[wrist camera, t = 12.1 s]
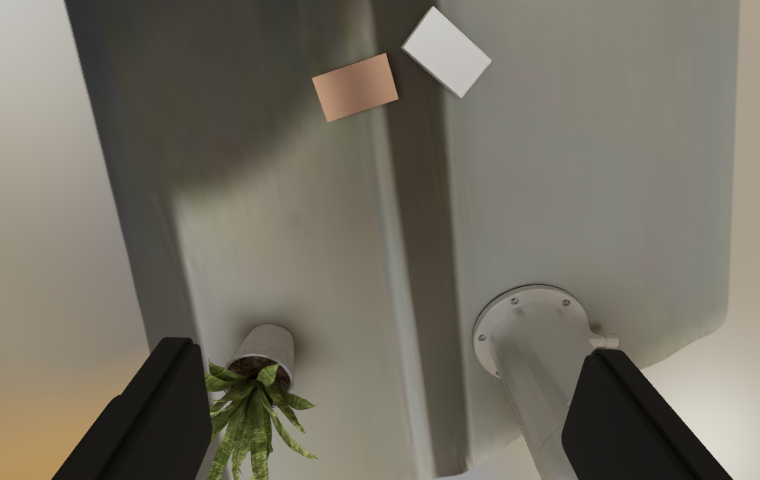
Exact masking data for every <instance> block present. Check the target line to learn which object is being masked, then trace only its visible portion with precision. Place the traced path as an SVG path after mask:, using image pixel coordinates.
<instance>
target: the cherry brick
mask: <svg viewBox="0 0 760 480" xmlns="http://www.w3.org/2000/svg"><path fill="white" fill-rule="evenodd" d="M312 80H313V83H314V85H315V88H316V91H317V94H318V97H319V100H320V102H321V105H322V108H323V111H324V114H325V117H326V119H327V122H330V121H333V120H336V119H339V118H342V117H345V116H348V115H351V114H355V113H358V112H361V111H364V110H367V109H370V108H373V107H376V106H379V105H382V104H385V103H388V102H391V101H394V100H397V99H398V95H397V92H396V88H395V84H394V81H393V77H392V74H391V70H390V67H389V63H388V59H387V56H386V53H383V54H380V55H377V56H375V57H372V58H369V59H366V60H363V61H360V62H357V63H354V64H351V65H348V66H345V67H342V68H339V69H336V70H333V71H330V72H328V73H325V74H322V75H319V76H316V77H314V78H312Z"/></svg>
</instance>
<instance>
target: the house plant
mask: <svg viewBox="0 0 760 480" xmlns="http://www.w3.org/2000/svg"><path fill="white" fill-rule="evenodd" d="M208 362H209V371H210V374H211V375H210V374H207V373H205V372H204V375H205V382H206V389H207V392H217V391H222V390H224V392H225V393H226V395H225V396H224V397H222V398H221V399H220V400H212V401H218V402H217V403H216V404H214V405H212V406H209V408H210V415H211V417H212V416H213V415H215V414H217V413H219V414H218V415H216V416H215V417H213V418H212V419H211V421H212V437H211V441H212V440H213V439H214V437H215V436H216V435H217V434H218V433H219V432H220V431H221V430H222V429H223V428H224V427H225V426H226V424H227V423H228V422H229V421H230V422H229V424H228V427H227V430H226V433H225V436H224V438H223V440H222V442H221V444H220V446H219V449H218V451H217V453H216V455H215V458H214V460H213V463H212V465H211V468H210V471H209V475H208V478H207V480H220V479H221V476H222V473H223V470H224V468H225V466H226V463H227V461H228V459H229V457H230V454H231V452H232V473H233V477H234V480H240V478H239V471H240V468H239V466H240V465H241V463H242V462H243V460H244V458H245V456H246V454H247V452H248V451H250V450H251V463H252V471H253V473H254V474H253V476H252V479H251V480H256V479H257V480H269V479H268V467H267V459H268V456H269V453H271V452H272V451H273V449H272V446H271V439H272V428H271V420H270V417H271V418H272V421H273V423H274V425H275V427H276V429H277V431H278V433H279V435H280V436H281V437H282V439H283V440H284V442H285V443H286V444H287V445H288V446H289V447H290V448H291V449H293V450H294V451H296V452H298V453H300V454H301V455H303V456H305V457H307V458H316V459H318V458H317V457H315V456H313V455H312V454H310V453H308V452H307V451H306V450H304V449H303V448H302V447H301V446H299V445H298V444H297V443H296V442H295V441H294V440H293V439H292V437H291V436H290V435H289V434H288V433H287V431H286V430H285V429H284V428H283V426H282V424H281V423H280V421H279V419H278V417H277V413H276V412H274V411H273V409H272V408H274V407H277V406H278V408H279V409H280V410H281V411H282V412H283V413H284V414H285V415H286V417H287V418H288V419H289V420H290V421H291V422H292V424H293V425H294V426H295V427H296V428H297V429H299V430H300V431H302V432H303V433H305V432H304V429H303V428H302V426H301V425H300V424H299V423H298V421H297V418H296V416H295V414H294V412H293V411H292V409H291V408H290V407H289V406H291V407H292V408H294V409H296V410H305V409H308V408H311V407H314V406H316V405H312V404H311V403H309V402H308V401H307V400H305V399H303V398H301V397H298V396H296V395H293V394H291V393H292V390H293V382H294V340H293V337H292V336H291V334H290V333H289V332H288V331H287V330H286V329H285V328H282V327H280V326H277V325H273V324H263V325H260V326H257V327H255V328H254V329H253V330H252V331H251V332H250V333H249V335H248V336H247V337H246V339H245V340H244V341H243V343H242V344H241V345H240V347H239V348H238V349H237V351H236V352H235V353H234V355H233V356H232V357H231V359H230V360H229V361H228V363H227V364H226V366H225V367H224V368H222V367H219V366H216V365H214V364H212V363H210V361H209V360H208ZM231 400H233V401H232V402H231V404H230V405H229V406H227V407H226V408H225V409H223V410H220V409H221V408H222V407H223V406H224V405H225V404H226V403H227V402H228V401H231ZM286 403H287V404H288V405H289V406H288V405H287V404H286ZM219 410H220V411H219ZM211 441H210V442H211ZM232 449H233V451H232ZM240 472H241V471H240ZM241 474H242V473H241ZM242 476H243V475H242Z"/></svg>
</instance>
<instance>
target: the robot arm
mask: <svg viewBox="0 0 760 480" xmlns="http://www.w3.org/2000/svg"><path fill="white" fill-rule="evenodd" d="M618 345H619V341H618V338H617V336H616V335H596V334H595V333H593V332H592V331H591V330H590V329H589V321H588V318H587V315H586V312H585V311H584V309H583V308H582V306H581V305H580V304H579V302H578V301H577V300H576V299H575V298H574V297H573V296H571V295H570V294H568V293H567V292H566V291H563V290H561V289H558V288H556V287H551V286H546V285H531V286H524V287H520V288H517V289H514V290H511V291H509V292H507V293H505V294H503V295H501V296H499V297H498V298H497V299H495V300H494V301H492V302H491V303H490V304H489V305H488V306H487V307H486V308H485V309H484V310H483V312H482V313H481V315H480V316H479V318H478V320H477V322H476V324H475V326H474V331H473V347H474V351H475V354H476V356H477V359H478V361H479V362H480V364H481V365H482V367H483V368H484V369H485V370H486V371H487V372H488V373H490V374H491V375H493V376H494V377H496V378H499V379H501V381H502V384H503V386H504V389H505V391H506V394H507V396H508V399H509V401H510V404H511V406H512V409H513V411H514V414H515V416H516V418H517V421H518V423H519V426H520V428H521V431H522V433H523V436H524V438H525V441H526V443H527V446H528V448H529V451H530V453H531V455H532V458H533V460H534V463H535V465H536V468H537V470H538V473H539V475H540V477H541V480H733V479H732V478H731V477H730V476H729V474H728V473H727V472H726V471H725V470H724V468H723V467H722V466H721V465H720V464H719V463H718V461H717V460H716V459H715V458H714V457H713V456H712V454H711V453H710V452H709V451H708V450H707V449H706V447H705V446H704V445H703V444H702V443H701V442H700V440H699V439H698V438H697V437H696V436H695V435H694V433H693V432H692V431H691V430H690V429H689V428H688V426H687V425H686V424H685V423H684V422H683V421H682V420H681V418H680V417H679V416H678V415H677V414H676V412H675V411H674V410H673V409H672V408H671V407H670V405H668V403H667V402H666V401H665V400H664V398H663V397H662V396H661V395H660V394H659V393H658V391H657V390H656V389H655V388H654V387H653V386H652V384H651V383H650V382H649V381H648V380H647V379H646V378H645V376H643V374H642V373H641V372H640V370H639V369H638V368H637V367H636V366H635V365H634V363H633V362H632V361H631V360H630V359H629V358H628V356H627V355H626V354H625V353H624V352H623V351H621V350H614V349H596V348H597V347H603V348H617V347H618ZM211 437H212V421H211V415H210V408H209V402H208V395H207V389H206V382H205V375H204V369H203V362H202V356H201V349H200V346H199V345H198V344H193V341H192V339H191V338H180V337H165V338H163V339H162V340H161V341H160V342H159V344H158V345H157V346H156V348H155V349H154V350H153V352H152V353H151V355H150V356H149V357H148V359H147V360H146V361H145V363H144V364H143V365H142V367H141V368H140V370H139V371H138V373H137V374H136V375H135V376H134V378H133V379H132V380H131V382H130V383H129V385H128V386H127V387H126V389H125V390H124V391H123V393H122V394H121V395H118V396H116V397H115V398H113V399H112V400H111V401H110V403H109V404H108V405H107V406H106V408H105V409H104V410H103V412H102V413H101V414H100V416H99V417H98V418H97V420H96V421H95V422H94V424H93V425H92V426H91V428H90V429H89V430H88V432H87V433H86V434H85V436H84V437H83V438H82V439H81V441H80V442H79V443H78V445H77V446H76V447H75V449H74V450H73V452H72V453H71V454H70V455H69V457H68V458H67V459H66V461H65V462H64V463H63V465H62V466H61V467H60V469H59V470H58V471H57V473H56V474H55V475H54V477H53V478H52V480H195V478H196V475H197V473H198V471H199V468H200V466H201V463H202V461H203V458H204V456H205V454H206V451H207V449H208V446H209V444H210V441H211Z"/></svg>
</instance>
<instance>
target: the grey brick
mask: <svg viewBox="0 0 760 480" xmlns="http://www.w3.org/2000/svg"><path fill="white" fill-rule="evenodd" d="M401 49H402V50H403V51H404V52H405V53H406V54H407V55H409V56H410V57H411V58H412V59H413V60H414V61H416V62H417V63H418V64H419V65H420V66H421V67H422V68H424V69H425V70H426V71H427V72H428V73H429V74H431V75H432V76H433V77H434V78H435V79H436V80H437V81H439V82H440V83H441V84H442V85H443V86H444V87H446V88H447V89H448V90H449V91H450V92H451V93H452V94H454V95H456V96H458V97H460V98H462V97H463V96H464V95H465V93H466V92H467V91H468V90H469V88H470V87H471V86H472V85H473V83H474V82H475V81H476V80H477V78H478V77H479V76H480V75H481V73H482V72H483V71H484V70H485V69H486V67H487V66H488V65H489V64H490V62H491V61H492V60H491V59H490V58H489V57H488V56H487V55H485V54H484V53H483V52H482V51H481V50H480V49H479V48H478V47H477V46H476V45H475V44H474V43H472V42H471V41H470V40H469V39H468V38H467V37H466V36H465V35H464V34H463V33H462V32H461V31H460V30H458V29H457V28H456V27H455V26H454V25H453V24H452V23H451V22H450V21H449V20H448V19H447V18H446V17H444V16H443V15H442V14H441V13H440V12H439V11H438V10H437V9H436V8H435V7H434V6H433V7H431V8H430V9H429V10H427V12H426V13H425V15H424V16H423V17H422V19H421V20H420V21H419V23H418V24H417V26H416V27H415V28H414V30H413V31H412V33H411V34H410V35H409V37H408V38H407V39H406V41H405V42H404V44H403V45H402V46H401Z"/></svg>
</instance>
